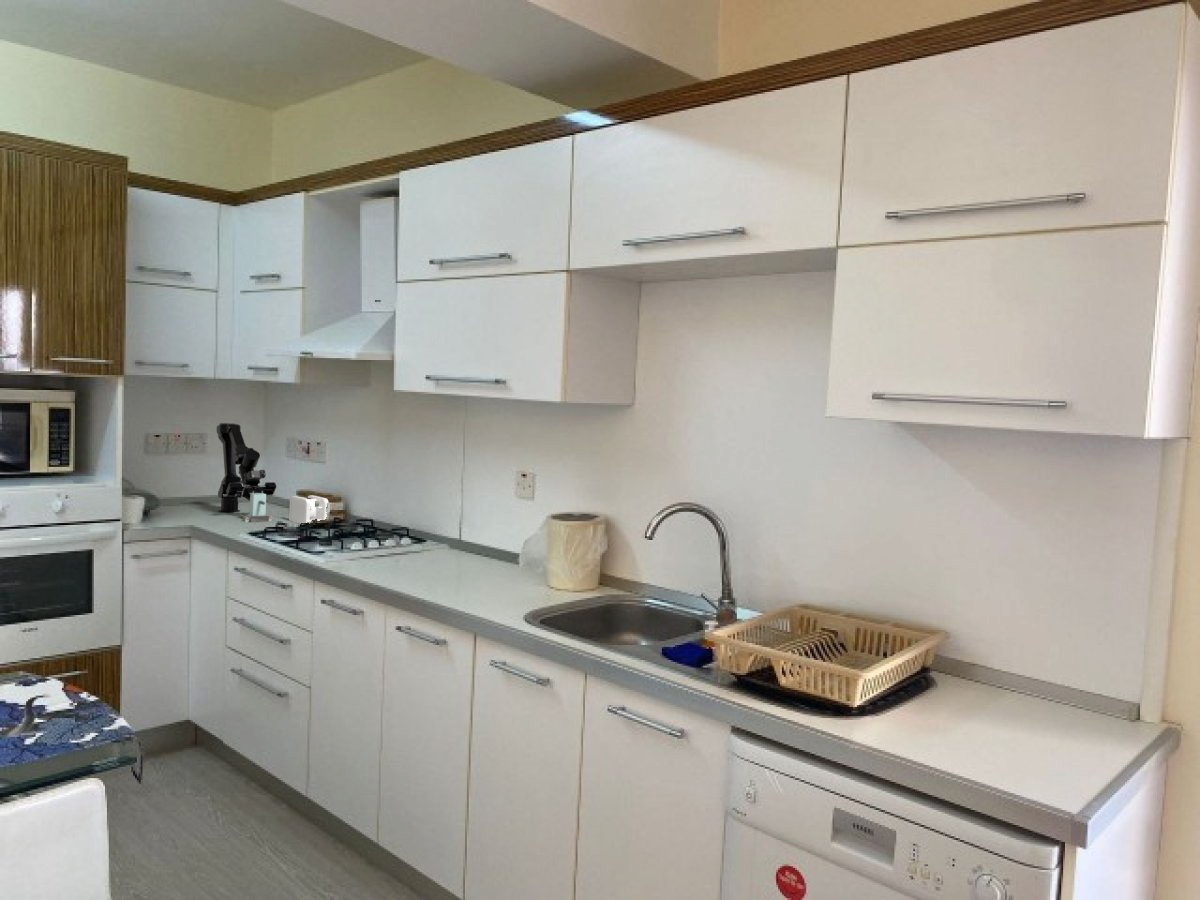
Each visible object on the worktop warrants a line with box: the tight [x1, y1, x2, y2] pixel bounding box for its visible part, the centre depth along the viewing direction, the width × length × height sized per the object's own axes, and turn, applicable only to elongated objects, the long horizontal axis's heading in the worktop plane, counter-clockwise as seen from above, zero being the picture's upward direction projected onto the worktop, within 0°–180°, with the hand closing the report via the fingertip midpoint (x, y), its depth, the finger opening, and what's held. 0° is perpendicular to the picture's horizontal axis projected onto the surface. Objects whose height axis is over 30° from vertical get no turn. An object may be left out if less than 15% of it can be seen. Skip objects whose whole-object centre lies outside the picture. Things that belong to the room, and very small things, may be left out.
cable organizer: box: [288, 494, 330, 525], centre depth 362 cm, size 15×11×12 cm
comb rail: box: [242, 514, 273, 523], centre depth 360 cm, size 16×12×4 cm
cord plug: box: [249, 492, 267, 522], centre depth 355 cm, size 9×6×11 cm, turn 39°
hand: (255, 505), depth 359 cm, fingers closed, pressing on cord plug
